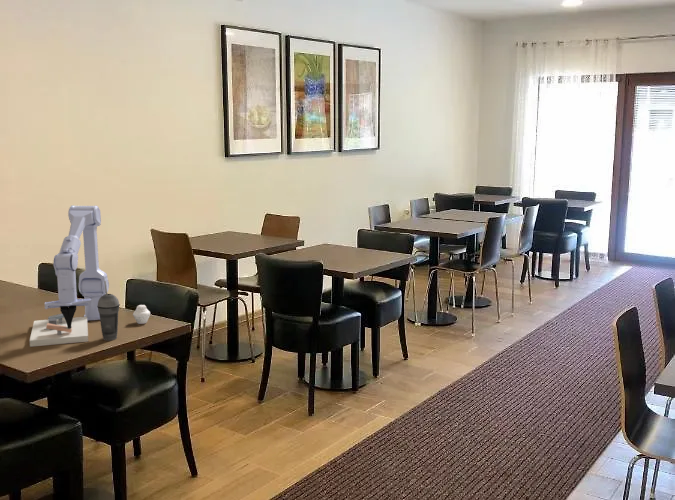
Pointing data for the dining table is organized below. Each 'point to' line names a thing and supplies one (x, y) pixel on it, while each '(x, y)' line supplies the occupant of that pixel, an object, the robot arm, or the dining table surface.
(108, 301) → the beverage cup
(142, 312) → the white rounded jar
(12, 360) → the dining table surface
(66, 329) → the pink plate with label
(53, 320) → the block
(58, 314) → the plate
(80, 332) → the switch panel
